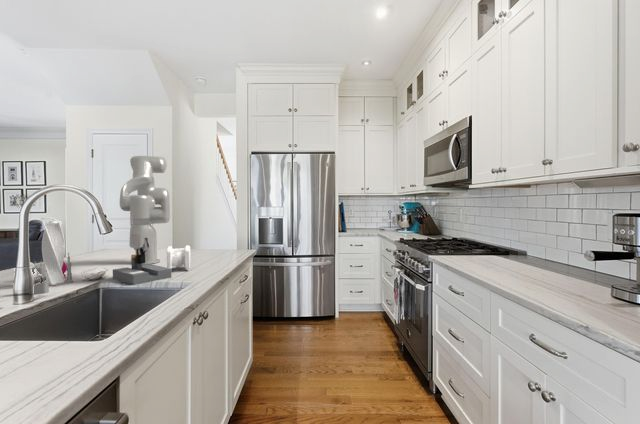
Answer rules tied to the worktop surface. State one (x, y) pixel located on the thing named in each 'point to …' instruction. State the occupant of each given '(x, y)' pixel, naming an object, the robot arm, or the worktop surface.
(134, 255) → the block
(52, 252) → the skyscraper
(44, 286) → the power adapter
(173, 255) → the cable organizer
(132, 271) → the breaker panel
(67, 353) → the worktop surface
